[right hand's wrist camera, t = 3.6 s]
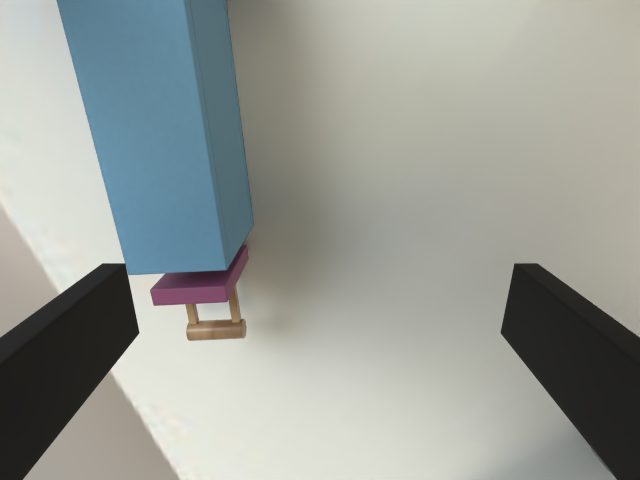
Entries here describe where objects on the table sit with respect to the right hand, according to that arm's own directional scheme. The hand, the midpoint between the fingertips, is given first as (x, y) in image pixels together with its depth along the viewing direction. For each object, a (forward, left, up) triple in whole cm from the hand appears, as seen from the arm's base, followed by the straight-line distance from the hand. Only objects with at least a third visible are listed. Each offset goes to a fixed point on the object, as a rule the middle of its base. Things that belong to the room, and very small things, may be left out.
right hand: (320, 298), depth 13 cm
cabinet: (+6, +10, -18) cm, 22 cm away
